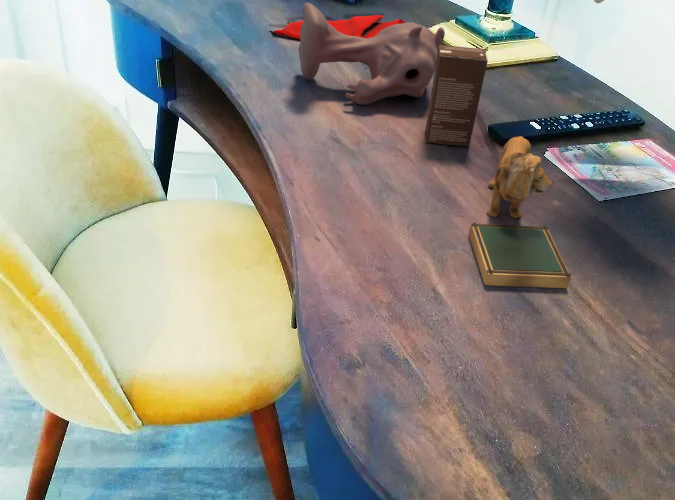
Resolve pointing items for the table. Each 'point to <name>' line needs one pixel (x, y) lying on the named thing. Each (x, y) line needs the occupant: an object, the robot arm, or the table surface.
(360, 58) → the dragon head
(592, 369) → the table surface
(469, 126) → the box
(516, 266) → the green gold display base
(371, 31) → the cloth
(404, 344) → the table surface
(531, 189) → the lion figurine
